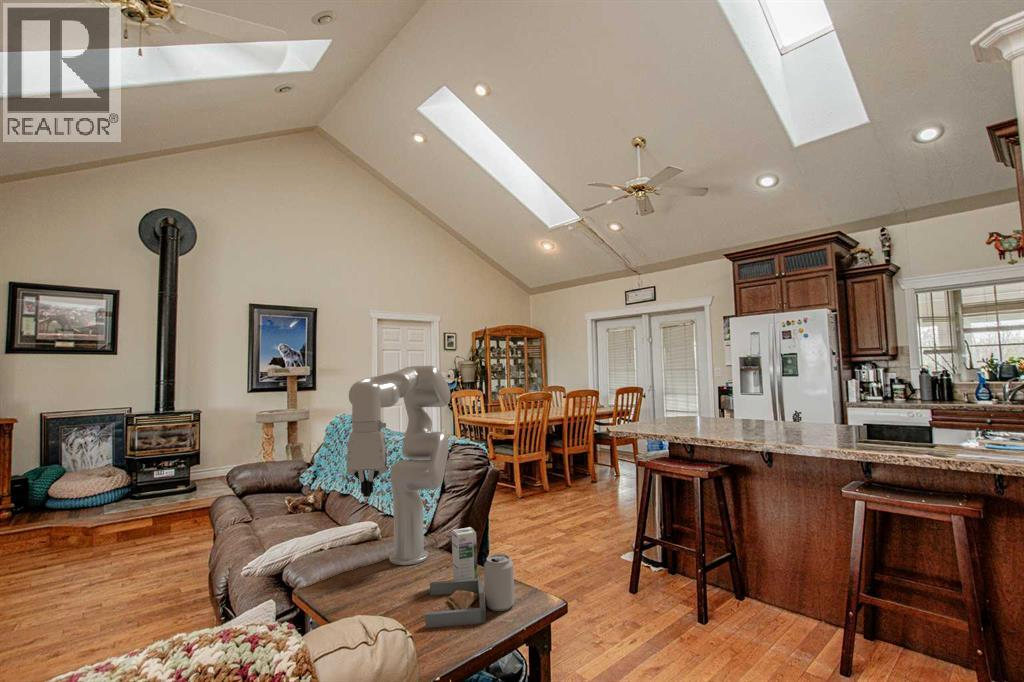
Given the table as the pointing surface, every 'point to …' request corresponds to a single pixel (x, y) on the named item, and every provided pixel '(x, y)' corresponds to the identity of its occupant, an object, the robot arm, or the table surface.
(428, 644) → the table surface
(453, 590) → the box
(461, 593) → the shard
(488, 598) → the can
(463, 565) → the syrup box
